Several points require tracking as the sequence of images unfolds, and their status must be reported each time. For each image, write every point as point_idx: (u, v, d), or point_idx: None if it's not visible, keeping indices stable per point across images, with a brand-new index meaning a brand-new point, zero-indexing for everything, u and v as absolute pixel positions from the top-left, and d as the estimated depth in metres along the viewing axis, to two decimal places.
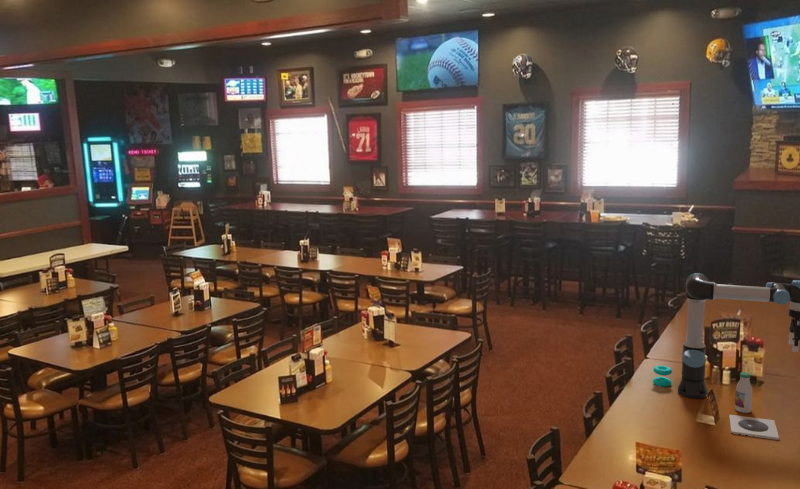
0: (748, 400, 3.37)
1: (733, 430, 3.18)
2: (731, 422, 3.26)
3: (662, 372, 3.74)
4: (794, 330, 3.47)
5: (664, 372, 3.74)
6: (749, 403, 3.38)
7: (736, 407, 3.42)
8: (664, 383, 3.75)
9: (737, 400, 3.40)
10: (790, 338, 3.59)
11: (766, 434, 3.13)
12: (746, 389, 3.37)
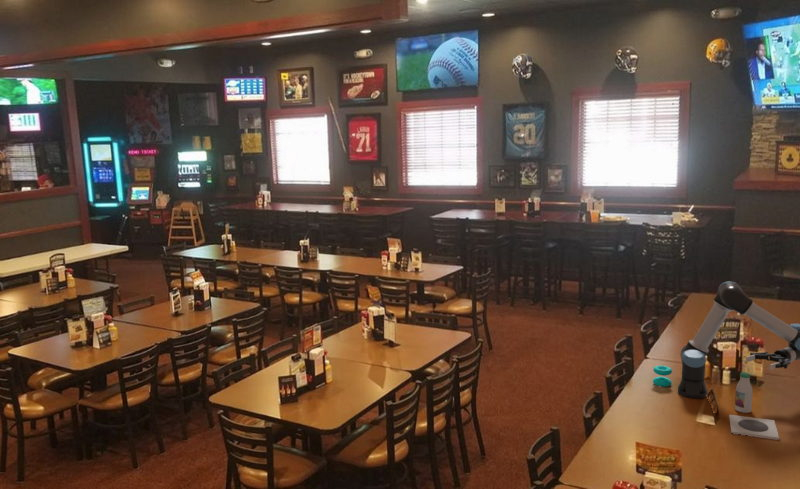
0: (748, 400, 3.37)
1: (733, 430, 3.18)
2: (731, 422, 3.26)
3: (662, 372, 3.74)
4: (781, 360, 3.43)
5: (664, 372, 3.74)
6: (749, 403, 3.38)
7: (736, 407, 3.42)
8: (664, 383, 3.75)
9: (737, 400, 3.40)
10: (751, 357, 3.50)
11: (766, 434, 3.13)
12: (746, 389, 3.37)
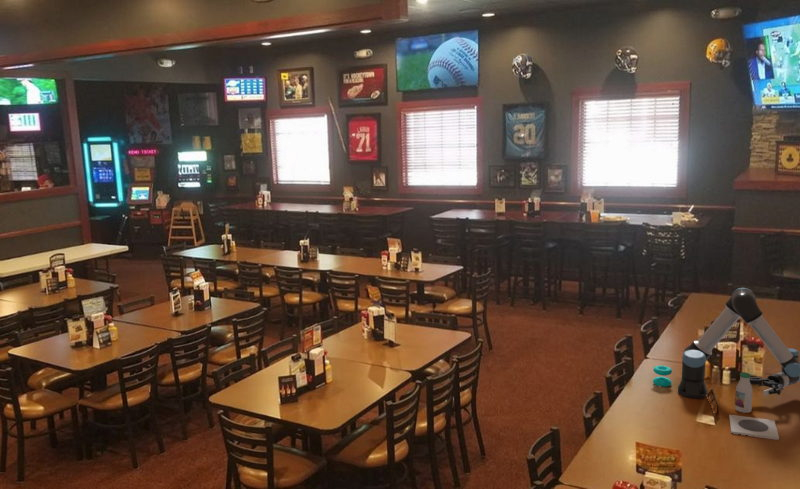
0: (748, 400, 3.37)
1: (733, 430, 3.18)
2: (731, 422, 3.26)
3: (662, 372, 3.74)
4: (774, 386, 3.42)
5: (664, 372, 3.74)
6: (749, 403, 3.38)
7: (736, 407, 3.42)
8: (664, 383, 3.75)
9: (737, 400, 3.40)
10: None
11: (766, 434, 3.13)
12: (746, 389, 3.37)
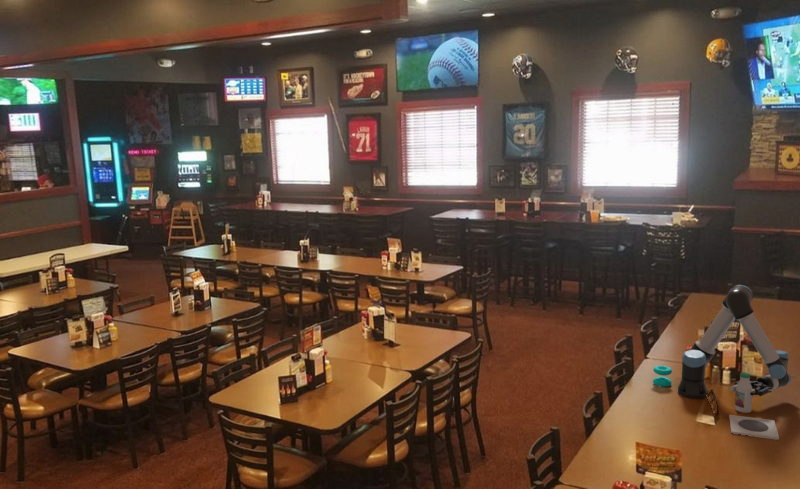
0: (748, 400, 3.37)
1: (733, 430, 3.18)
2: (731, 422, 3.26)
3: (662, 372, 3.74)
4: (759, 388, 3.40)
5: (664, 372, 3.74)
6: (749, 403, 3.38)
7: (736, 407, 3.42)
8: (664, 383, 3.75)
9: (737, 400, 3.40)
10: (735, 386, 3.43)
11: (766, 434, 3.13)
12: (746, 389, 3.37)
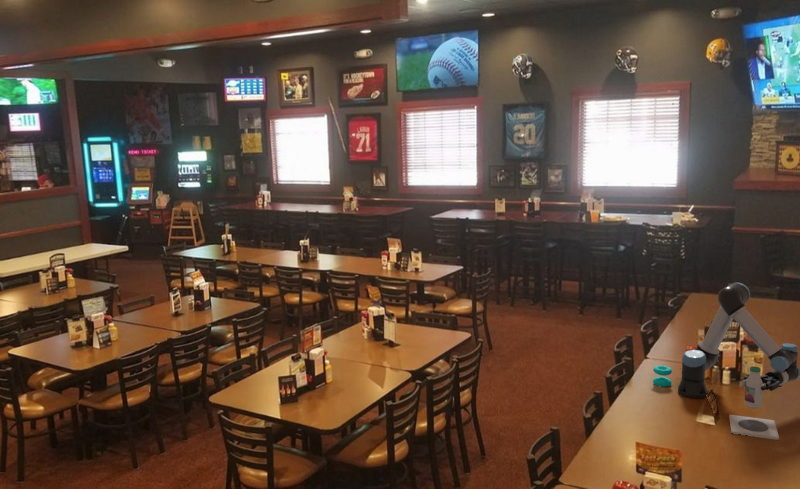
0: (759, 395, 3.26)
1: (733, 430, 3.18)
2: (731, 422, 3.26)
3: (662, 372, 3.74)
4: (770, 382, 3.28)
5: (664, 372, 3.74)
6: (759, 398, 3.27)
7: (746, 402, 3.30)
8: (664, 383, 3.75)
9: (747, 395, 3.29)
10: (745, 381, 3.31)
11: (766, 434, 3.13)
12: (756, 384, 3.25)
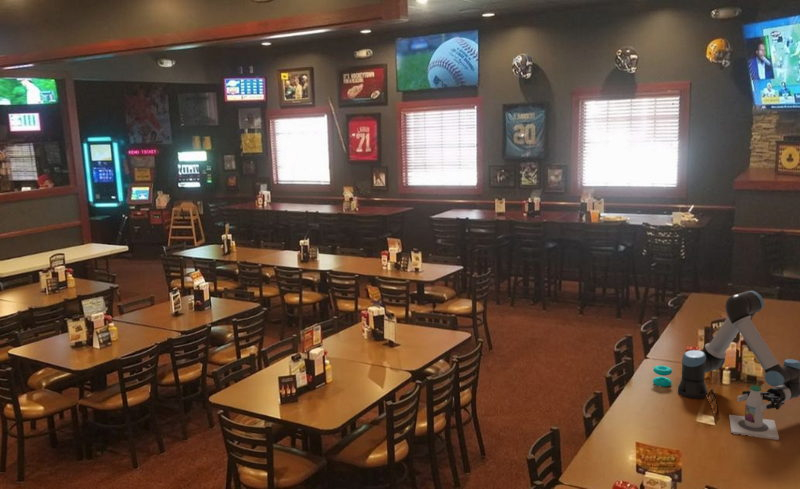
0: (759, 414, 3.17)
1: (733, 430, 3.18)
2: (731, 422, 3.26)
3: (662, 372, 3.74)
4: (774, 400, 3.19)
5: (664, 372, 3.74)
6: (760, 418, 3.18)
7: (746, 422, 3.21)
8: (664, 383, 3.75)
9: (747, 415, 3.20)
10: (743, 396, 3.25)
11: (766, 434, 3.13)
12: (757, 403, 3.17)
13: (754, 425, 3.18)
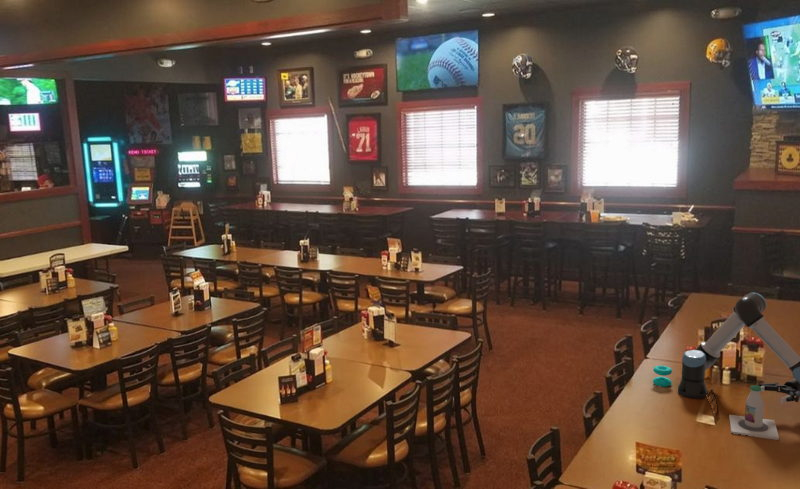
0: (759, 414, 3.17)
1: (733, 430, 3.18)
2: (731, 422, 3.26)
3: (662, 372, 3.74)
4: (792, 392, 3.25)
5: (664, 372, 3.74)
6: (760, 418, 3.18)
7: (746, 422, 3.21)
8: (664, 383, 3.75)
9: (747, 415, 3.20)
10: None
11: (766, 434, 3.13)
12: (757, 403, 3.16)
13: (754, 425, 3.18)
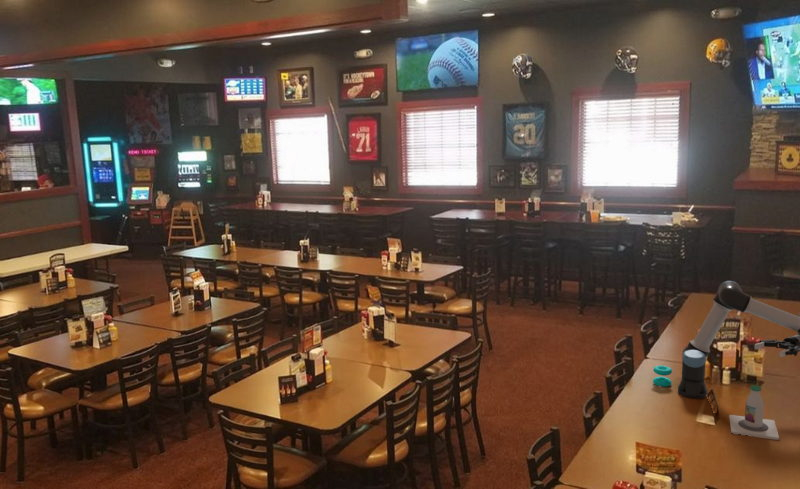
0: (759, 414, 3.17)
1: (733, 430, 3.18)
2: (731, 422, 3.26)
3: (662, 372, 3.74)
4: (791, 347, 3.37)
5: (664, 372, 3.74)
6: (760, 418, 3.18)
7: (746, 422, 3.21)
8: (664, 383, 3.75)
9: (747, 415, 3.20)
10: (760, 344, 3.44)
11: (766, 434, 3.13)
12: (757, 403, 3.17)
13: (754, 425, 3.18)
